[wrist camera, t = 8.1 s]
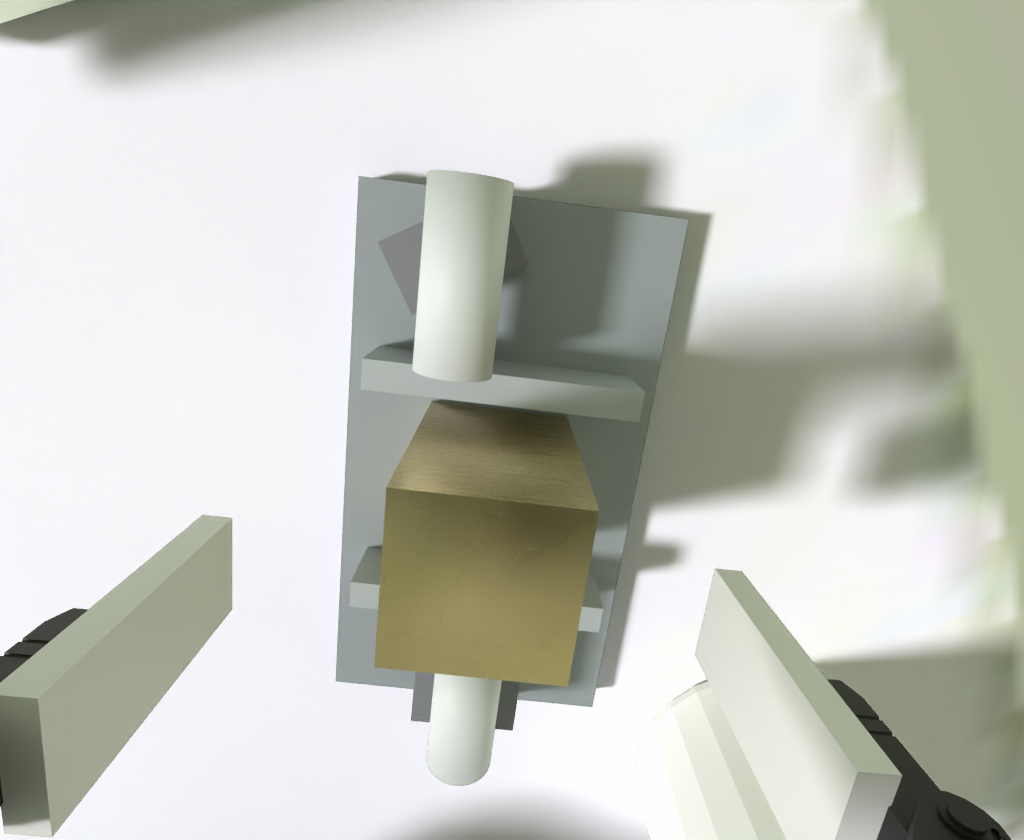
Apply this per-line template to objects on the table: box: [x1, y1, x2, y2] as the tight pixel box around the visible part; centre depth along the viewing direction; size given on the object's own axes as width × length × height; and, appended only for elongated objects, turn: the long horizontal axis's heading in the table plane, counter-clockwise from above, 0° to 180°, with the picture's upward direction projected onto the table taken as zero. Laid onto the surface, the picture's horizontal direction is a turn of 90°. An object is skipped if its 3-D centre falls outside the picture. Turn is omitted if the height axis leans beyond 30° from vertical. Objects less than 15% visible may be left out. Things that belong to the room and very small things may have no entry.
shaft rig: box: [336, 170, 688, 786], centre depth 20 cm, size 20×11×5 cm, turn 173°
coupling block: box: [374, 401, 599, 687], centre depth 18 cm, size 5×5×8 cm
